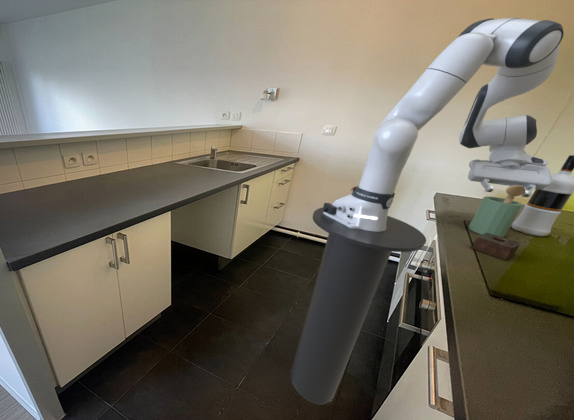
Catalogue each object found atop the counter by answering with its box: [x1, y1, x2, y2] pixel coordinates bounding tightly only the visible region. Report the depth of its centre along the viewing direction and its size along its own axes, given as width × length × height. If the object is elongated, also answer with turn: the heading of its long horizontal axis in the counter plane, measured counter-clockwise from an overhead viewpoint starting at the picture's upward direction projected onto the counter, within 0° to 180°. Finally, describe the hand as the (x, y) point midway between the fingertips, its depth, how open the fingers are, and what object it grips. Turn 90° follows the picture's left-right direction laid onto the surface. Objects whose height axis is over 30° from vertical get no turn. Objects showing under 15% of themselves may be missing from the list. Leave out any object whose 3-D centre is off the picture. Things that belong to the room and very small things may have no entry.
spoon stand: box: [471, 233, 521, 261], centre depth 79 cm, size 8×8×4 cm
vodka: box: [510, 154, 574, 237], centre depth 91 cm, size 9×9×30 cm
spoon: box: [503, 185, 526, 204], centre depth 89 cm, size 4×2×19 cm, turn 60°
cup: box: [468, 195, 524, 238], centre depth 92 cm, size 9×9×13 cm
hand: (507, 193), depth 88 cm, fingers open, 8 cm apart
